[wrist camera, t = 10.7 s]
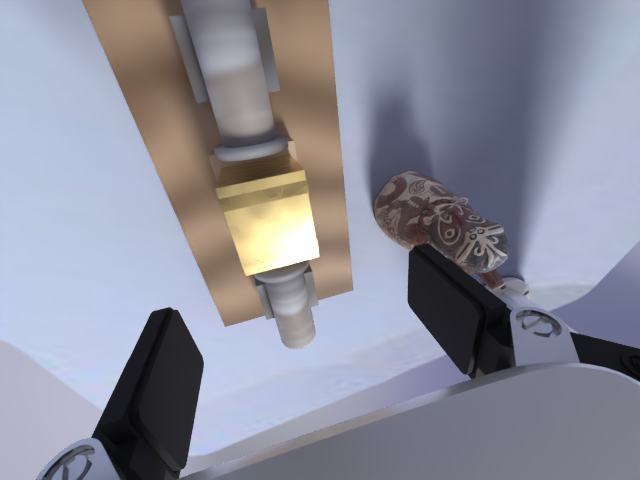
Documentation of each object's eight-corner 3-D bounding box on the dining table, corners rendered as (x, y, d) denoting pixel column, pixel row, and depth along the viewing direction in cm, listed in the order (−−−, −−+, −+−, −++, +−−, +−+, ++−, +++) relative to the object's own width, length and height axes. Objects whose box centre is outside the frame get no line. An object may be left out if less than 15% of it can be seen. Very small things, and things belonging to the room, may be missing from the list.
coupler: (220, 168, 19) (214, 189, 14) (290, 153, 19) (305, 169, 15) (244, 241, 22) (245, 276, 17) (304, 226, 22) (319, 256, 18)
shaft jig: (348, 281, 31) (379, 333, 24) (225, 315, 29) (221, 383, 22) (319, -19, 18) (367, -90, 11) (92, 0, 16) (-21, -75, 9)
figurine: (432, 160, 27) (552, 199, 16) (437, 220, 30) (538, 282, 20) (367, 187, 26) (449, 244, 16) (380, 244, 30) (454, 321, 19)
